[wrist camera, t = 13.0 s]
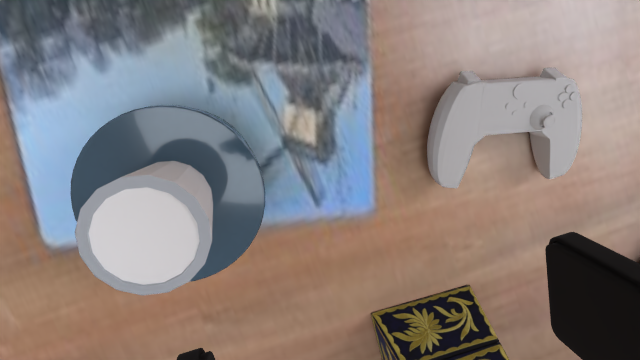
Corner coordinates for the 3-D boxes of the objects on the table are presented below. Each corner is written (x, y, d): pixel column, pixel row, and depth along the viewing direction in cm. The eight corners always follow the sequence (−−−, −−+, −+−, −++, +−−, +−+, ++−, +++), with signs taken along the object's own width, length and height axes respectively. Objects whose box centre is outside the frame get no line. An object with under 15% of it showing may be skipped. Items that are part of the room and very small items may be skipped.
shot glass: (103, 167, 26) (50, 196, 19) (204, 140, 27) (187, 159, 20) (140, 257, 28) (104, 312, 21) (234, 229, 29) (228, 275, 22)
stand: (76, 128, 31) (33, 139, 25) (234, 81, 32) (229, 81, 26) (142, 268, 34) (119, 307, 29) (282, 222, 36) (287, 250, 30)
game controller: (433, 197, 34) (448, 81, 29) (414, 175, 38) (424, 70, 33) (580, 181, 36) (615, 71, 31) (547, 162, 40) (574, 62, 35)
